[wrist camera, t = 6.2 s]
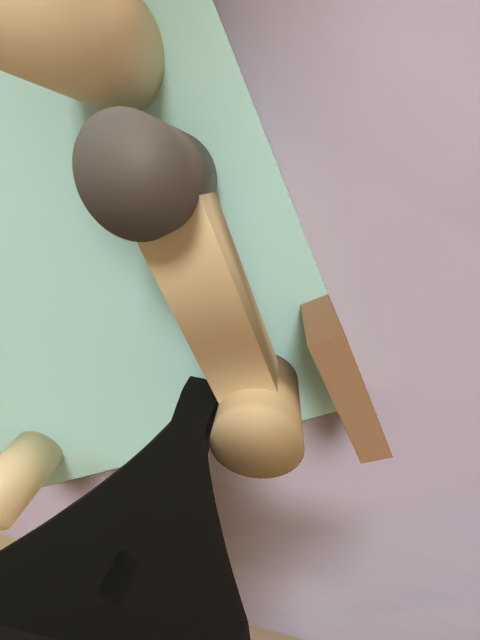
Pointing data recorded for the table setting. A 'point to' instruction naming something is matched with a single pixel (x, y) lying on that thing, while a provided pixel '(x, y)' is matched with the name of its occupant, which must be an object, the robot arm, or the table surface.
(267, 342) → the swing leg
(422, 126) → the table surface
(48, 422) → the green activity board
